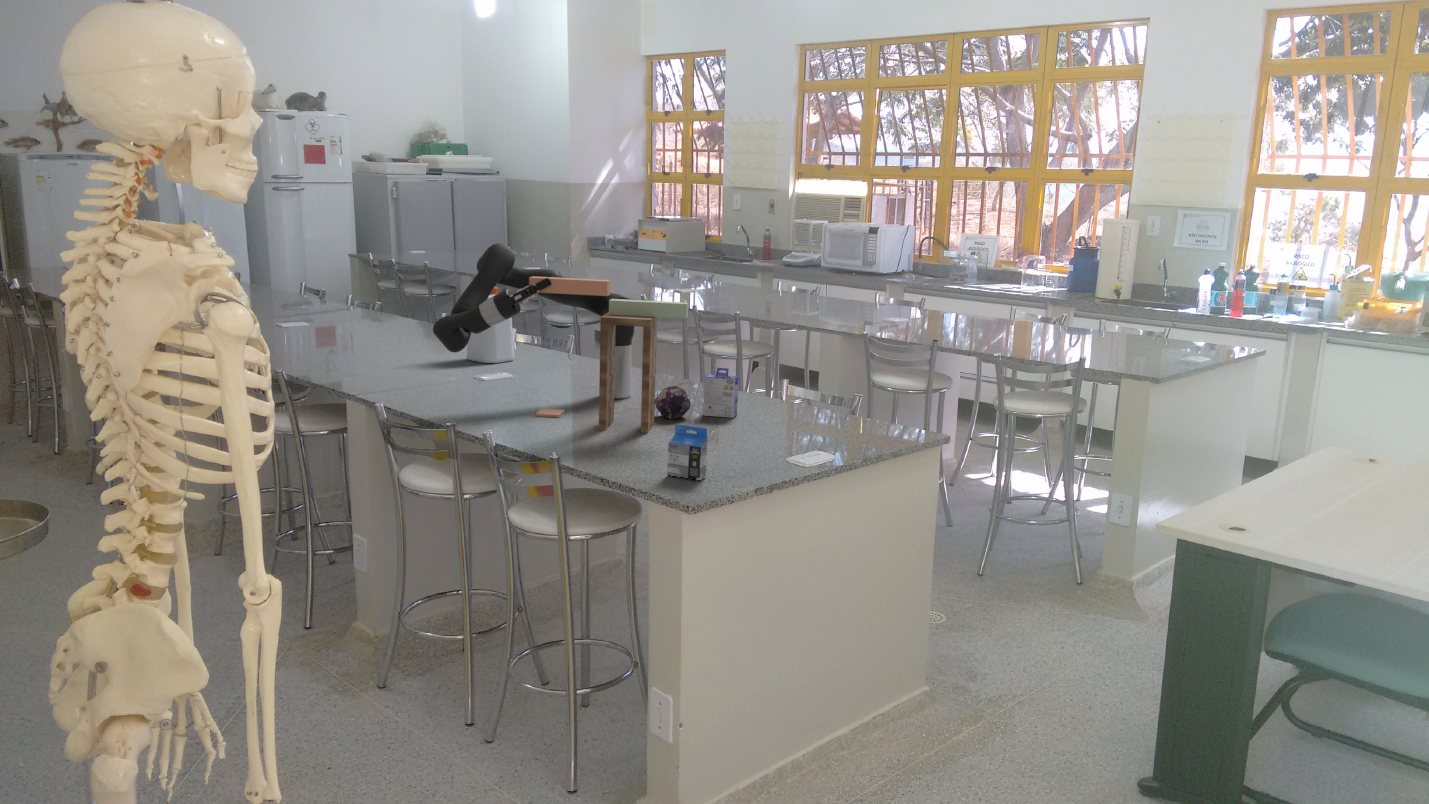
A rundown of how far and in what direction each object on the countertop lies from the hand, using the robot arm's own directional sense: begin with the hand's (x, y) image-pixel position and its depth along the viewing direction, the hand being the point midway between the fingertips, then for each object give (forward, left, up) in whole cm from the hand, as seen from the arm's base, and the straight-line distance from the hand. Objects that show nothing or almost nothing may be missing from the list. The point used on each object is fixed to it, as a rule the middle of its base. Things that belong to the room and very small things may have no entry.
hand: (551, 280), depth 288 cm
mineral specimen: (-19, +33, -41) cm, 56 cm away
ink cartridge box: (-25, +47, -41) cm, 67 cm away
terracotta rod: (0, +5, -3) cm, 6 cm away
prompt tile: (-13, -3, -41) cm, 43 cm away
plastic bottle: (-99, -48, -41) cm, 118 cm away
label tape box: (+45, +45, -41) cm, 76 cm away
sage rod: (-6, +27, -9) cm, 29 cm away
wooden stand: (-3, +22, -41) cm, 47 cm away
